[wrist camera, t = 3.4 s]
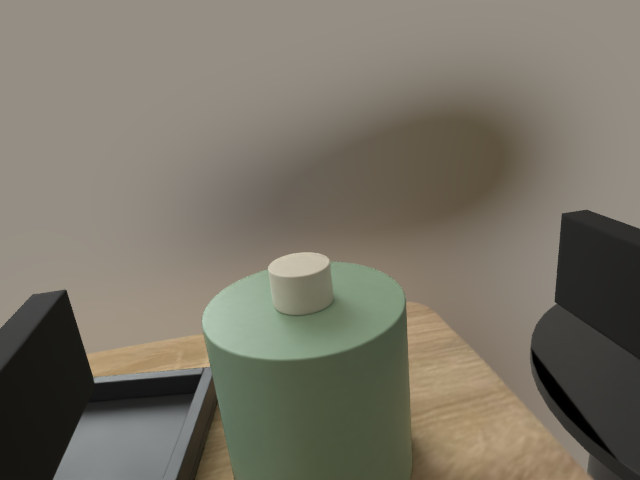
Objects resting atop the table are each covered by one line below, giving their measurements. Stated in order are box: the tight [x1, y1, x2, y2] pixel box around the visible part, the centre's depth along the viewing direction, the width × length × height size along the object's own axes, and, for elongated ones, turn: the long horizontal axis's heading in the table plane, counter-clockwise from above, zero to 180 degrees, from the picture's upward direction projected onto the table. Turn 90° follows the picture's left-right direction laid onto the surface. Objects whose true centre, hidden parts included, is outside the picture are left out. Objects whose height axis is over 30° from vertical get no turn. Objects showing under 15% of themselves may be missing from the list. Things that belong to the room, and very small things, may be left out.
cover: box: [202, 252, 412, 480], centre depth 24 cm, size 10×10×12 cm
